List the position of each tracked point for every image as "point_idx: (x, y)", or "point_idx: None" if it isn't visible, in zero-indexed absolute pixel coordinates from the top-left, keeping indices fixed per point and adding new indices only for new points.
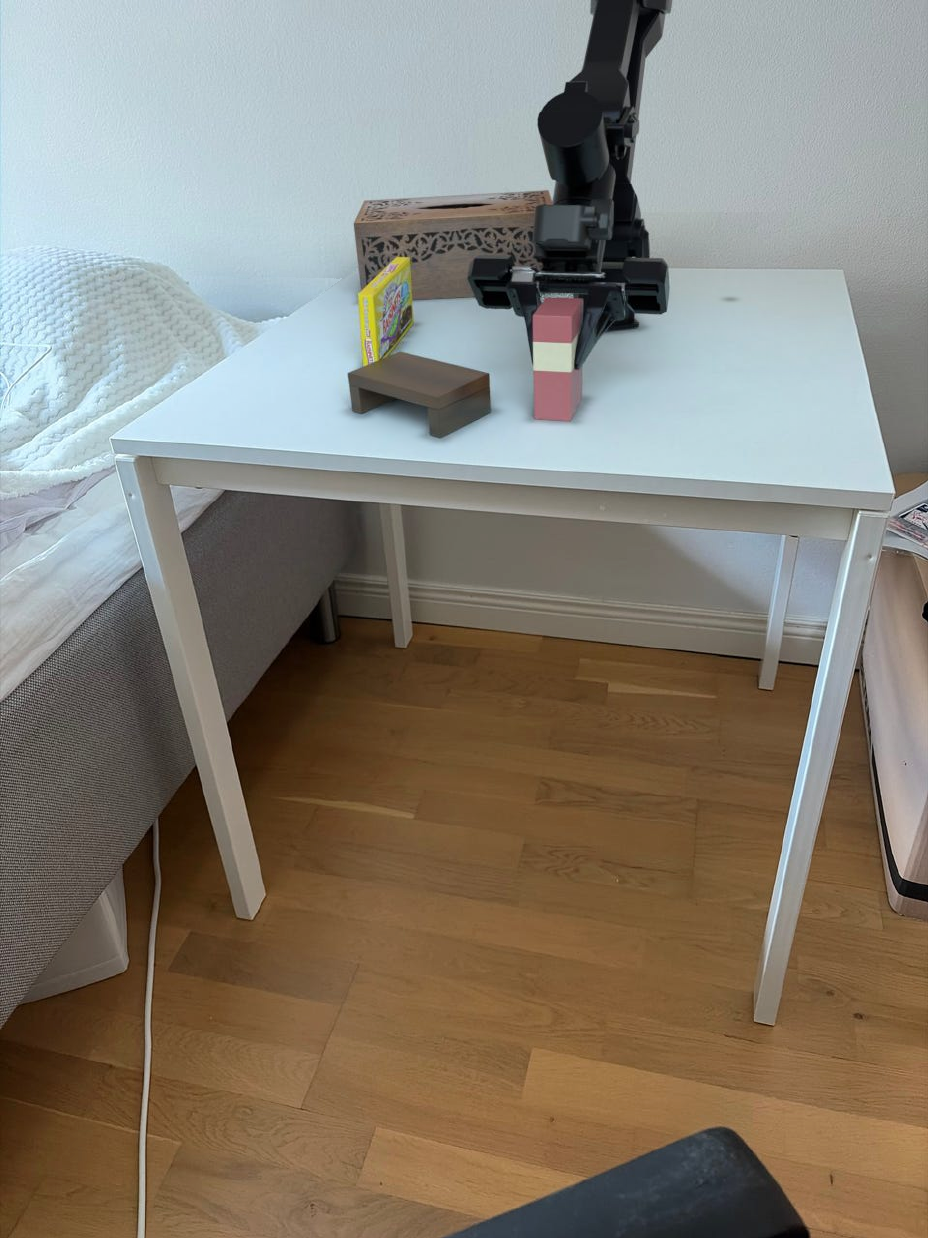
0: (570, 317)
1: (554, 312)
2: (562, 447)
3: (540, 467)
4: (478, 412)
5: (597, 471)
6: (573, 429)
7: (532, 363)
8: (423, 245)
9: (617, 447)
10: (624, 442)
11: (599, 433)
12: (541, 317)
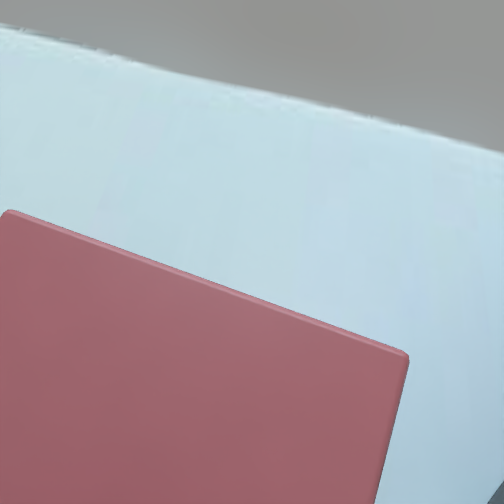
0: (20, 216)
1: (133, 399)
2: (248, 203)
3: (318, 113)
4: None
5: (194, 80)
6: None
7: None
8: None
9: (110, 181)
10: (83, 205)
11: None
12: (305, 315)
